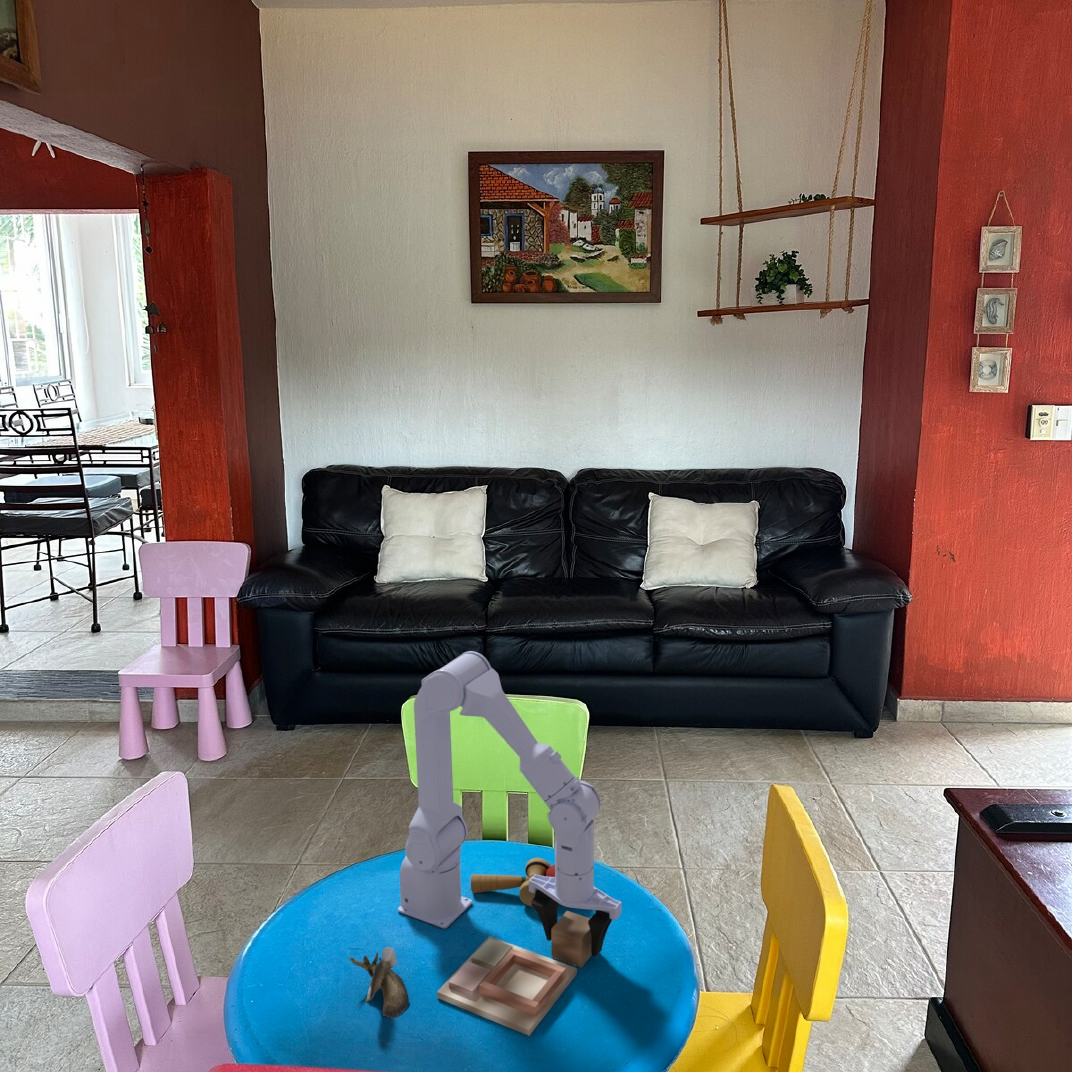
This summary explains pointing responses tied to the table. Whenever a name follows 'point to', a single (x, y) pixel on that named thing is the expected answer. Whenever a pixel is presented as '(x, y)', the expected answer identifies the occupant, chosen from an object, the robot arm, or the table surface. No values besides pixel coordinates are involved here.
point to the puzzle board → (508, 985)
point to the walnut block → (571, 939)
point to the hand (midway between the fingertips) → (573, 944)
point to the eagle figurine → (386, 982)
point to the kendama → (513, 880)
